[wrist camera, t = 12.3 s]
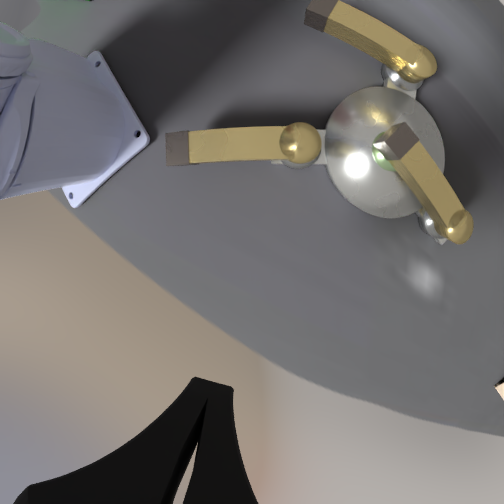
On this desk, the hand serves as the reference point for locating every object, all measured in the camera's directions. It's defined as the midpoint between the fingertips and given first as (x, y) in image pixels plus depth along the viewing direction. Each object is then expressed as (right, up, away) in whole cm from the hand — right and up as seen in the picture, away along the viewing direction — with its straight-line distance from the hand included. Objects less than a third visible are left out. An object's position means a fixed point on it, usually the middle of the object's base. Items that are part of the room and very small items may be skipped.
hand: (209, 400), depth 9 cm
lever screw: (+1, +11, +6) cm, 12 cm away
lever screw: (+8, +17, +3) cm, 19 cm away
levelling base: (+10, +11, +7) cm, 16 cm away
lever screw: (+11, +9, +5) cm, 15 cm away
